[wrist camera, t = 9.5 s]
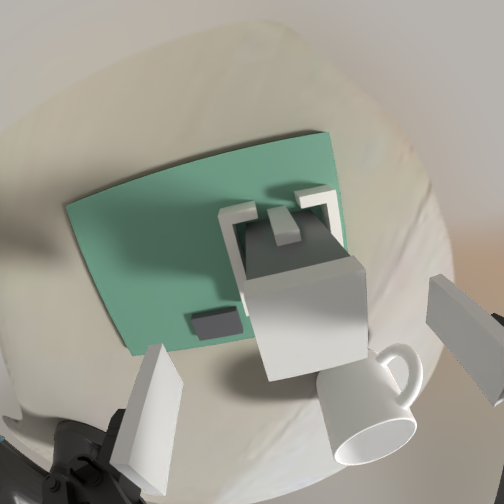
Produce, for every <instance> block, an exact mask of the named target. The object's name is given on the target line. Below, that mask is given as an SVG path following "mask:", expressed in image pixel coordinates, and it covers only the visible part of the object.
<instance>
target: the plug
mask: <svg viewBox="0 0 504 504" xmlns="http://www.w3.org/2000/svg"><path fill="white" fill-rule="evenodd" d="M267 213H268V217H269V218H267V219H262V220H258V221H254V222H249V223H245V234H246V281H244V300H245V303H246V306H247V310H248V313H249V317H250V320H251V324H252V327H253V330H254V334H255V337H256V340H257V344H258V347H259V351H260V354H261V357H262V361H263V364H264V367H265V370H266V374H267V377H268V380H269V382H271V381H276V380H281V379H286V378H290V377H295V376H300V375H304V374H308V373H313V372H317V371H321V370H325V369H329V368H333V367H336V366H340V365H344V364H347V363H351V362H354V361H358V360H361V359H365V358H368V315H367V288H366V270H365V268H364V267H363V266H362V264H361V263H360V262H359V261H358V260H357V259H356V257H355V256H350V255H349V254H348V252H347V251H346V250H345V249H344V248H343V246H342V245H341V244H340V243H339V242H338V241H337V239H336V238H335V237H334V236H333V235H332V234H331V232H330V231H329V230H328V229H327V228H326V227H325V225H324V224H323V223H322V222H321V221H320V220H319V219H318V217H317V216H316V215H315V214H314V213H313V212H312V211H311V210H310V209H307V210H303V211H298V212H293V213H289V211H288V209H287V208H286V206H285V205H283V206H279V207H274V208H270V209H267Z"/></svg>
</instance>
